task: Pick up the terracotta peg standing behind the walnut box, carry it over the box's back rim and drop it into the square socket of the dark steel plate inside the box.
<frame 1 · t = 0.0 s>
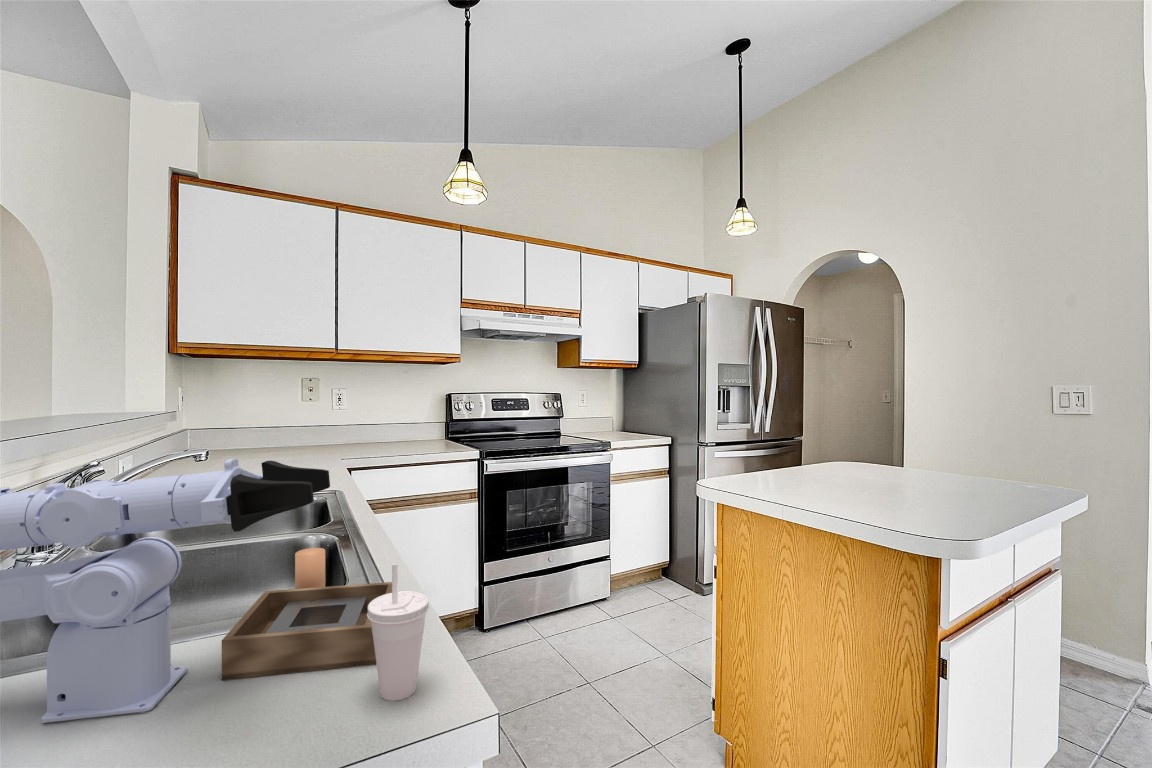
hand: (321, 485, 61), 22 cm above the counter, tool horizontal, fingers open, 7 cm apart
peg: (310, 605, 80), on the counter
socket plate: (319, 626, 69), in the socket box, point 2 cm above the counter
smoothie: (398, 692, 59), on the counter
socket box: (319, 642, 69), on the counter
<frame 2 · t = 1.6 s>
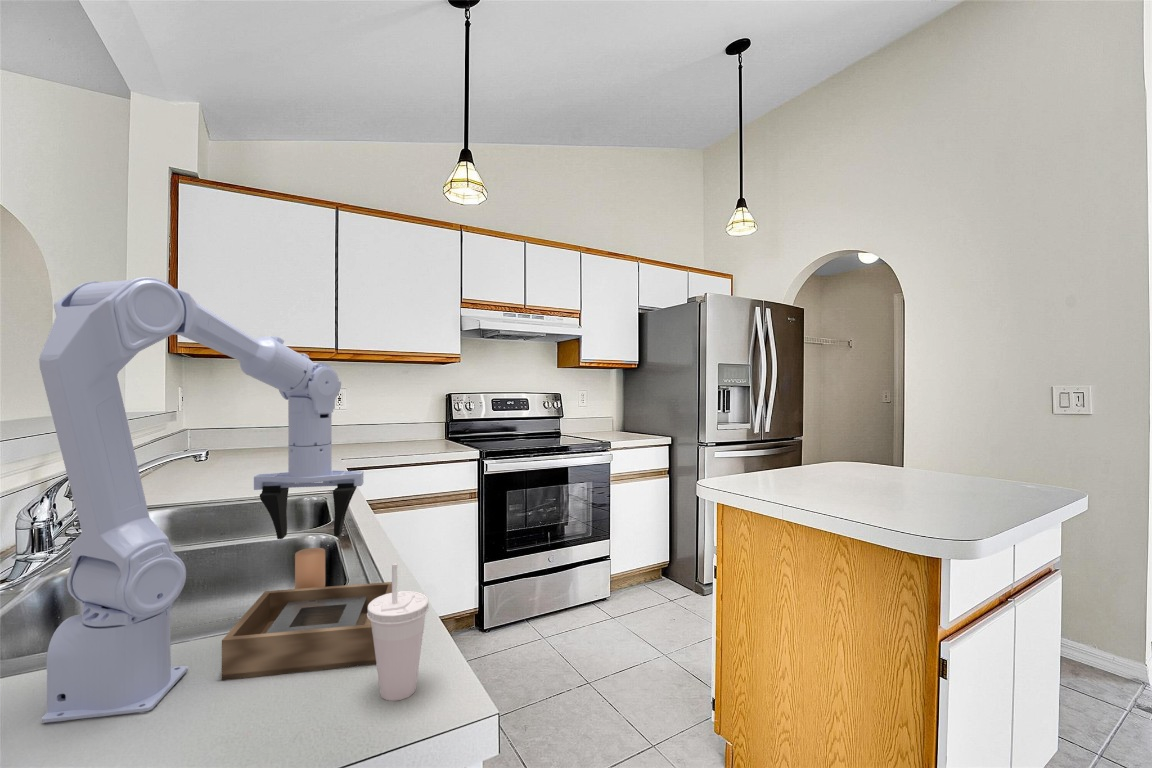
hand: (310, 535, 79), 10 cm above the counter, tool pointing down, fingers open, 7 cm apart
nothing on the counter moved.
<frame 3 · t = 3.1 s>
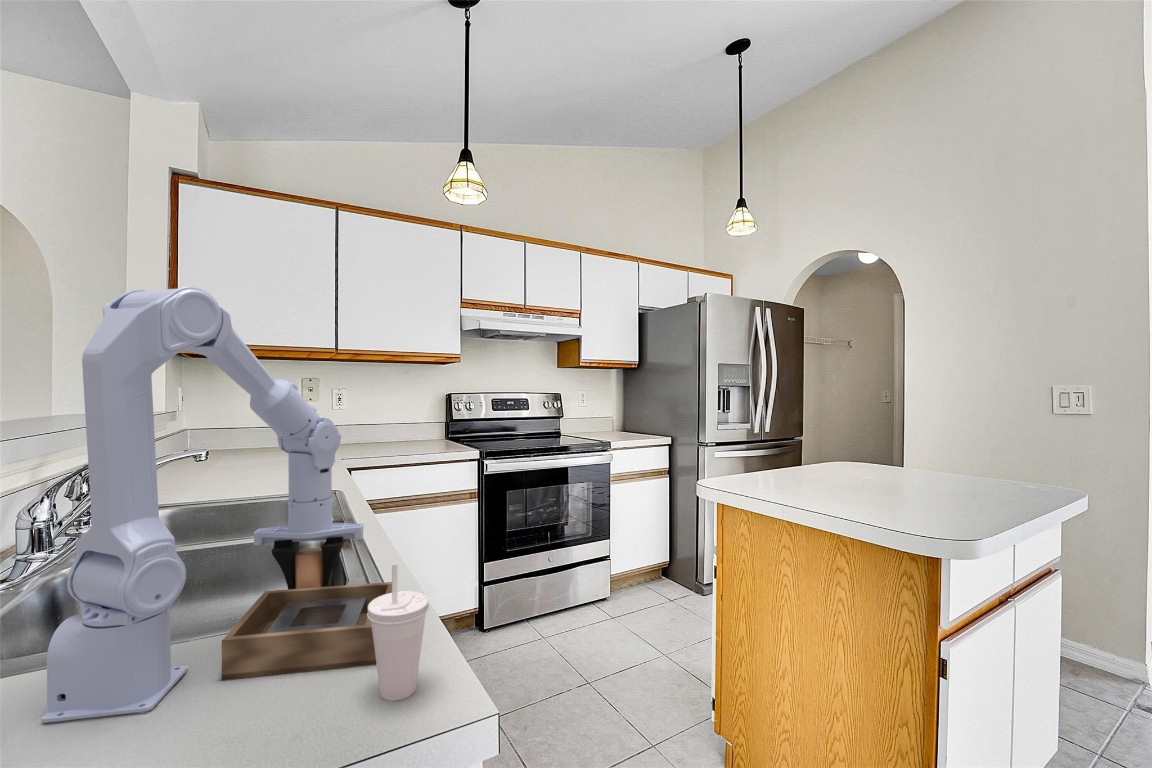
hand: (310, 589, 80), 2 cm above the counter, tool pointing down, fingers closed on peg, 4 cm apart
peg: (310, 605, 80), on the counter, touching gripper
everything else where it was.
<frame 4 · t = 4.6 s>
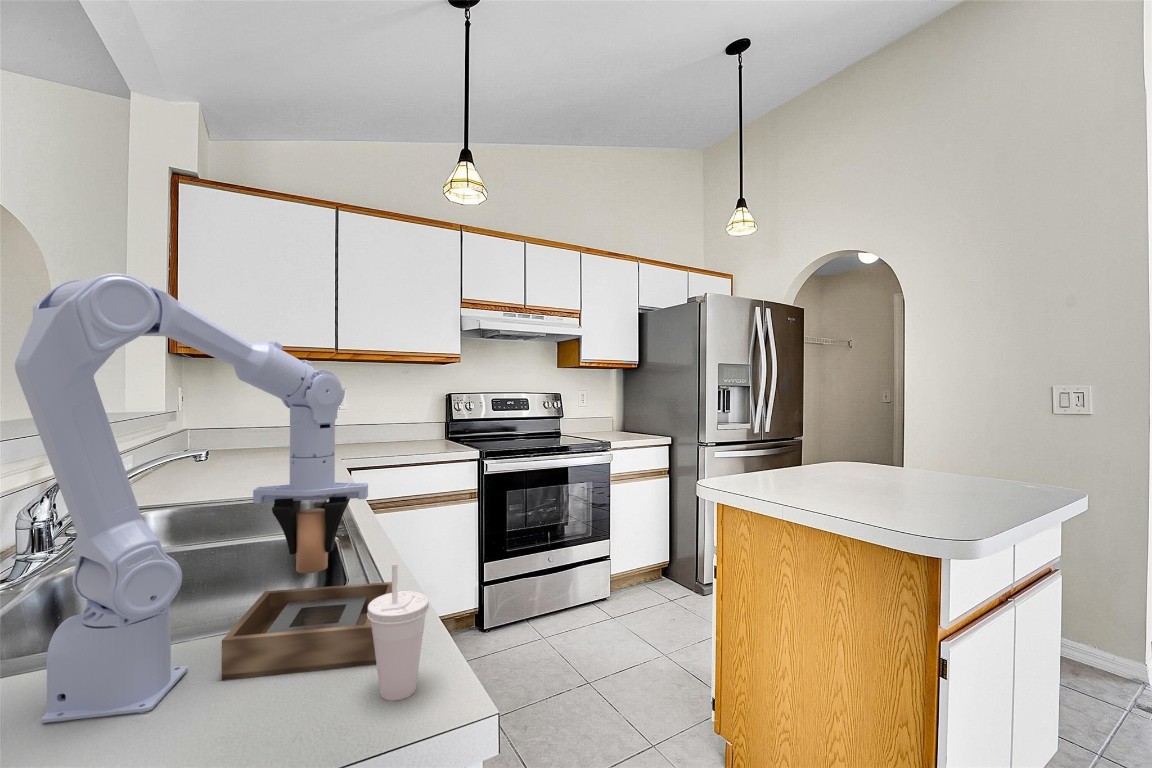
hand: (312, 551, 76), 9 cm above the counter, tool pointing down, fingers closed on peg, 4 cm apart
peg: (312, 568, 76), point 7 cm above the counter, touching gripper
everything else where it was.
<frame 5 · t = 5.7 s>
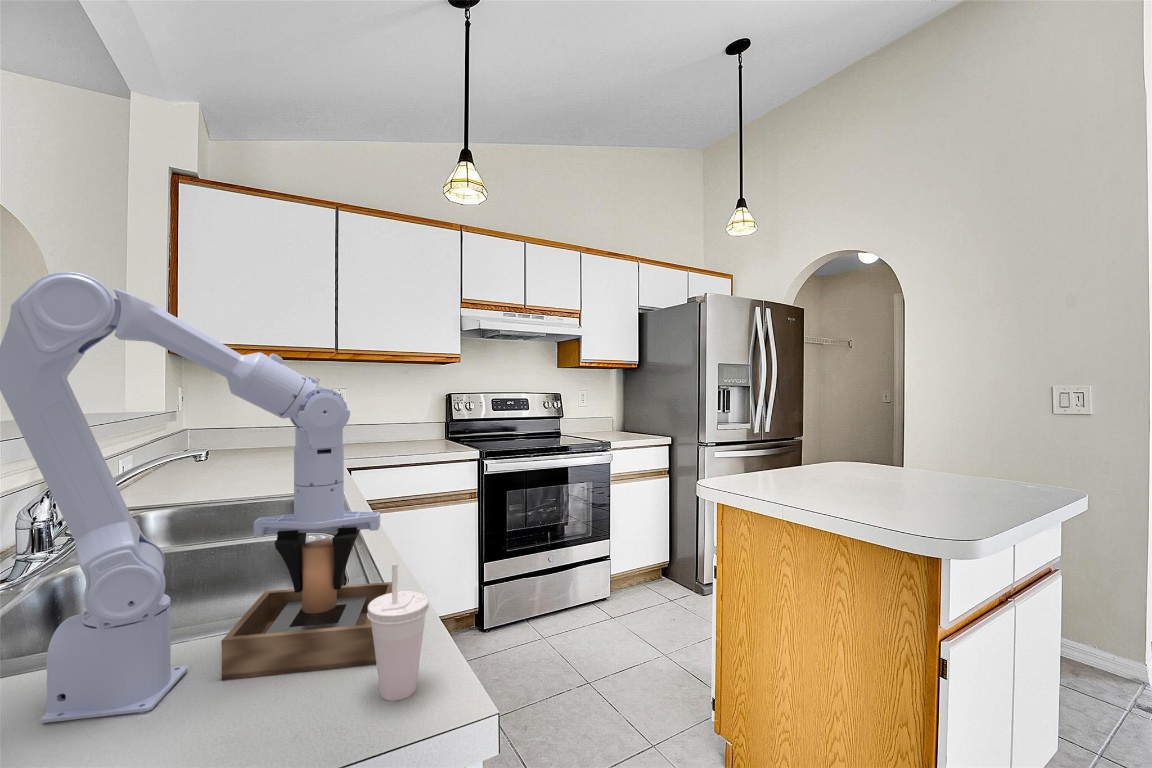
hand: (319, 588, 69), 7 cm above the counter, tool pointing down, fingers closed on peg, 4 cm apart
peg: (319, 606, 69), point 5 cm above the counter, touching gripper
everything else where it was.
when the fingers open (5 cm above the counter, at t = 6.6 s): peg drops 2 cm, resting on socket box.
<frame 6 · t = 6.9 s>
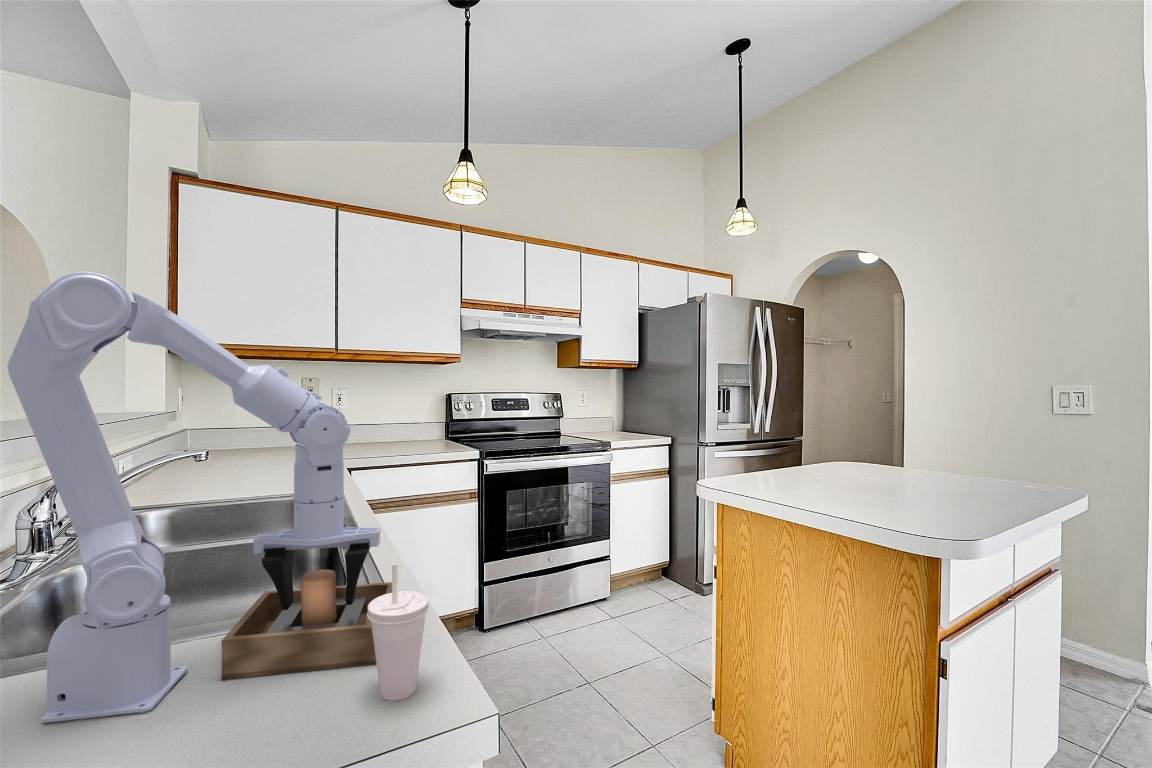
hand: (319, 604, 69), 5 cm above the counter, tool pointing down, fingers open, 7 cm apart
peg: (319, 636, 69), point 1 cm above the counter, touching socket box
everything else where it was.
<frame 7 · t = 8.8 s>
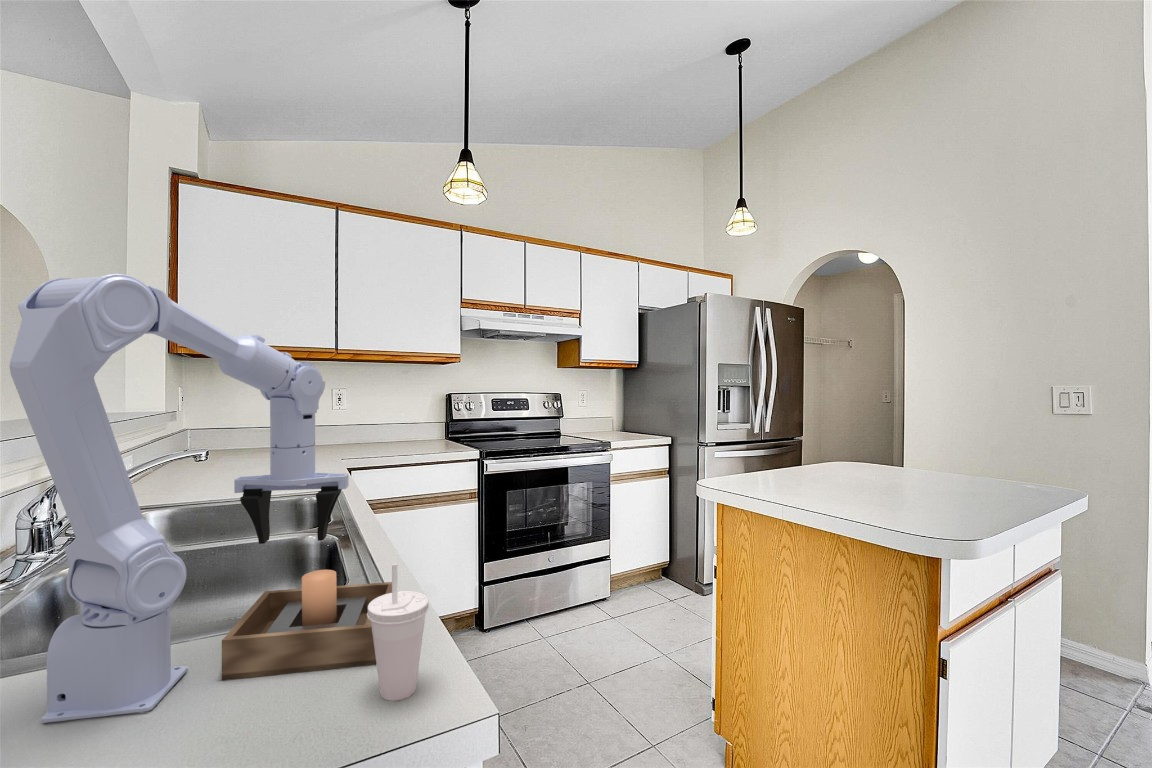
hand: (293, 540, 77), 10 cm above the counter, tool pointing down, fingers open, 7 cm apart
nothing on the counter moved.
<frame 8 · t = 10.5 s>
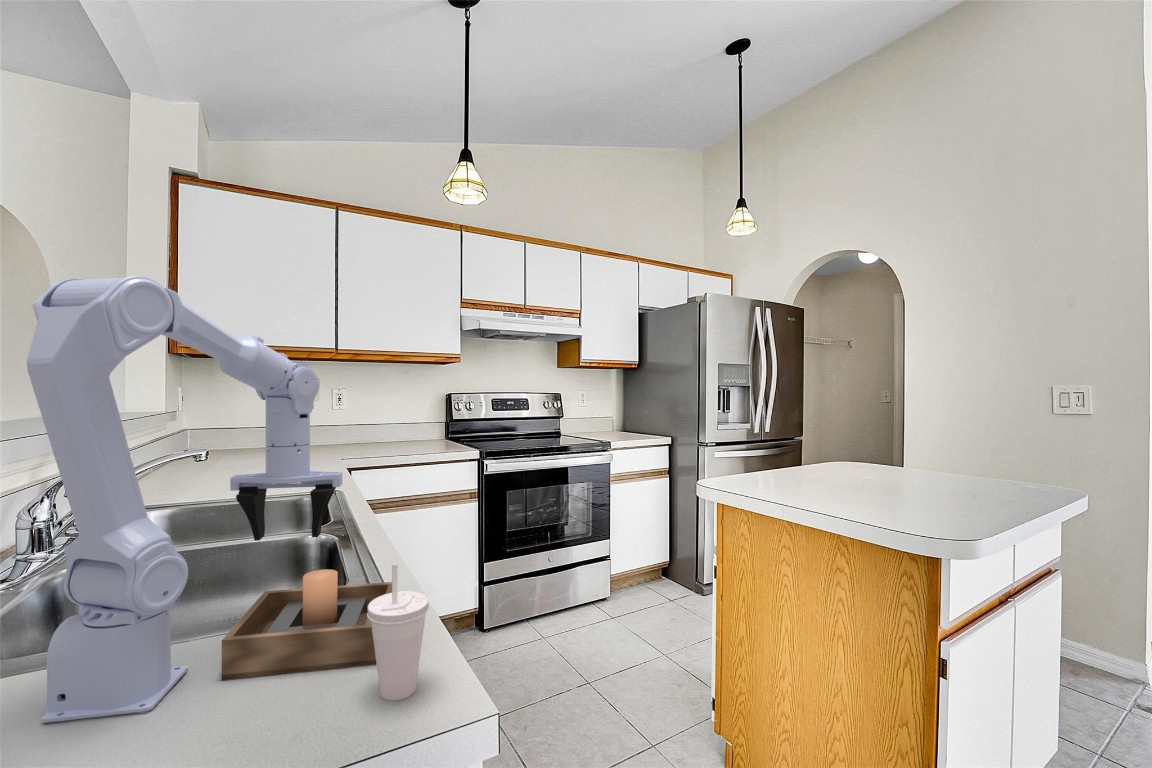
hand: (288, 536, 79), 10 cm above the counter, tool pointing down, fingers open, 7 cm apart
nothing on the counter moved.
at the end: peg 0.1 cm off-centre on the socket plate, point 0.6 cm above the socket plate's base; peg tilted 1°; the gripper is holding nothing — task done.
